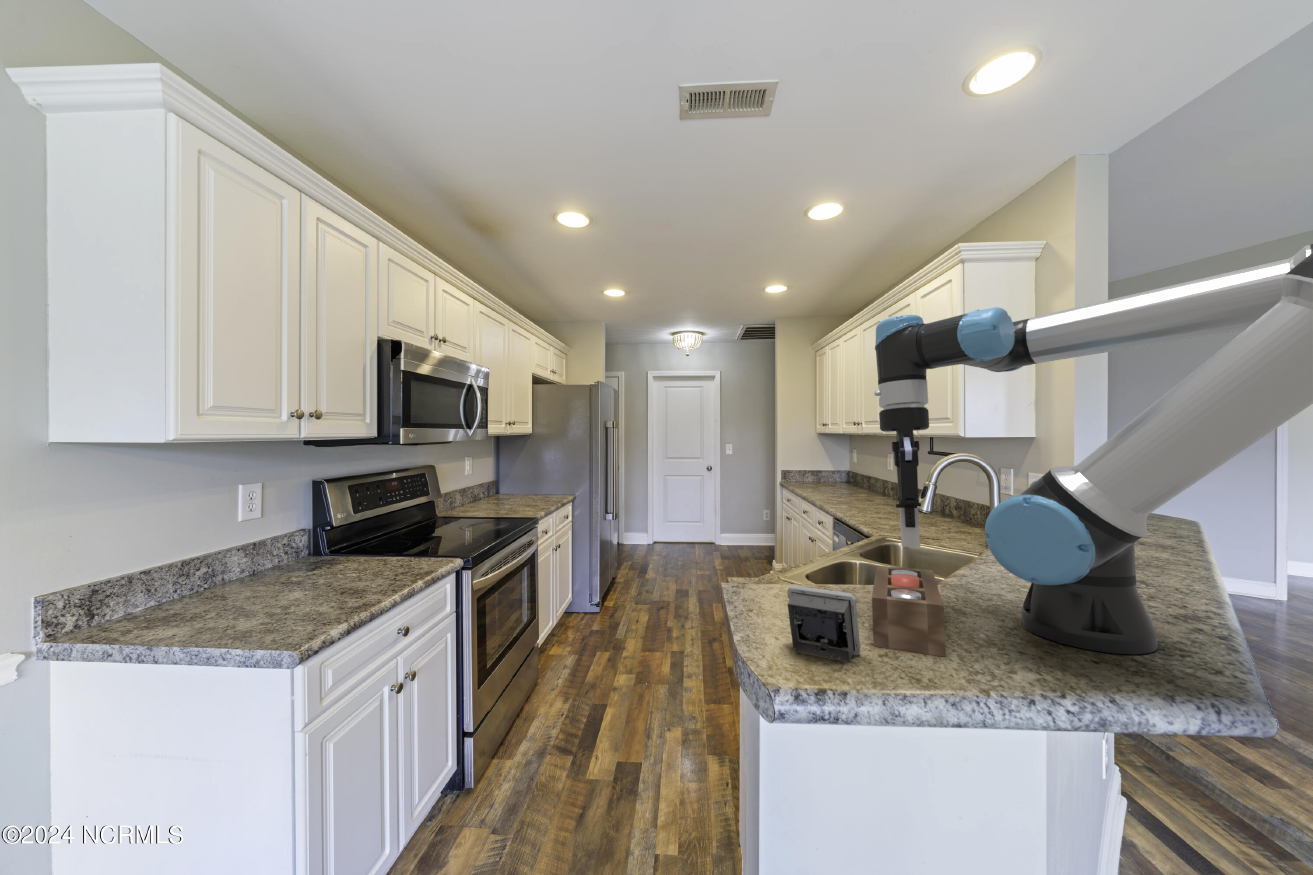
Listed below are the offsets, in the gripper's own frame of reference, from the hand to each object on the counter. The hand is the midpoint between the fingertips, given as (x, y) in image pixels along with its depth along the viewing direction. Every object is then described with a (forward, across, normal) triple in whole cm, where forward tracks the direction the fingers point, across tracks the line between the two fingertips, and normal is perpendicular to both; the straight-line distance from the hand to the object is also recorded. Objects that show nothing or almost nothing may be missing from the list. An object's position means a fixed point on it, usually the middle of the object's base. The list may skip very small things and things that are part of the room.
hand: (910, 545), depth 79 cm
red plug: (+10, +4, -1) cm, 11 cm away
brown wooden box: (+12, +4, -2) cm, 13 cm away
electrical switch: (+12, +20, -13) cm, 27 cm away
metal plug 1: (+11, -2, -1) cm, 11 cm away
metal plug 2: (+11, +11, -2) cm, 16 cm away
